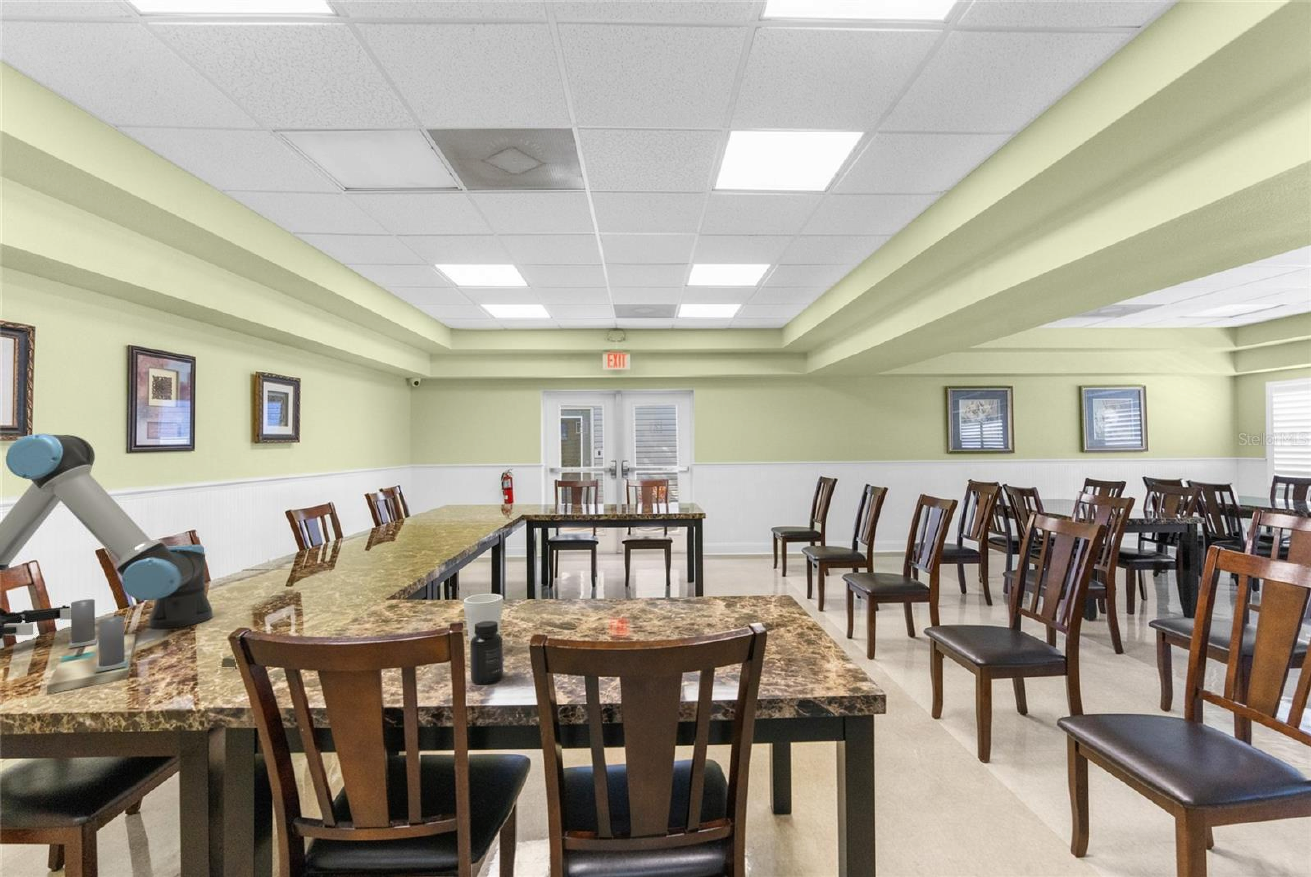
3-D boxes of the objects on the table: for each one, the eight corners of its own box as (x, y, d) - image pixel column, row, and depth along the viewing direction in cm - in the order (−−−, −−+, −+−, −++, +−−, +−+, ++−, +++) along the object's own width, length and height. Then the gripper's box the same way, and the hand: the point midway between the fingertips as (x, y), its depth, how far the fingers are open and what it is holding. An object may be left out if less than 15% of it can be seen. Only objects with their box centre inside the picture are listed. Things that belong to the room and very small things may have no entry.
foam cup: (498, 657, 144) (497, 603, 145) (459, 658, 144) (458, 603, 145) (507, 644, 154) (506, 593, 154) (471, 645, 154) (470, 594, 154)
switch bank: (135, 640, 164) (135, 633, 164) (128, 678, 136) (128, 669, 136) (69, 651, 156) (69, 643, 156) (47, 694, 128) (47, 684, 128)
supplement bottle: (506, 672, 134) (505, 618, 134) (498, 685, 127) (497, 628, 128) (476, 673, 134) (475, 619, 134) (466, 685, 127) (465, 629, 128)
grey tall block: (127, 660, 141) (126, 614, 141) (125, 666, 137) (125, 618, 137) (97, 666, 138) (97, 618, 138) (95, 672, 134) (95, 623, 134)
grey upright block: (97, 639, 158) (97, 598, 158) (95, 643, 154) (95, 601, 154) (71, 643, 155) (70, 601, 155) (68, 648, 151) (68, 605, 151)
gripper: (30, 622, 167) (105, 621, 167) (-82, 653, 142) (6, 652, 142) (30, 595, 168) (104, 594, 167) (-82, 622, 143) (5, 620, 142)
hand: (59, 621), depth 155 cm, fingers open, 13 cm apart
